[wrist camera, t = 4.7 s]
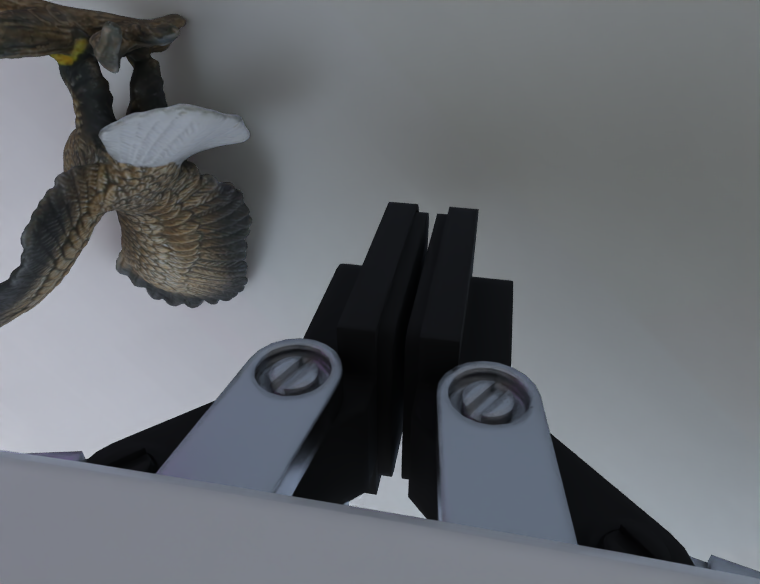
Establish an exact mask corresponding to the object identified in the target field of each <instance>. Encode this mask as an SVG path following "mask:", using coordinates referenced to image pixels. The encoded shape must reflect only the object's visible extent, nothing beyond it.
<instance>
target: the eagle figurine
mask: <svg viewBox="0 0 760 584" xmlns="http://www.w3.org/2000/svg"><path fill="white" fill-rule="evenodd" d="M185 23H186V20H185V18H183V17H182V16H180V15H178V14H170V15H167V16H164V17H160V18H157V19H153V20H142V19H135V18H130V17H125V16H120V15H115V14H111V13H106V12H101V11H93V10H86V9H79V8H73V7H67V6H62V5H58V4H54V3H51V2H48V1H44V0H0V59H3V58H10V59H14V58H22V57H40V56H46V55H50V56H51V57H52V58H54V59H55V60H56V61H57V62H58V65H59V70H60V75H61V77H62V79H63V81H64V83H65V85H66V86H67V88H68V89H69V91H70V93H71V96H72V99H73V106H74V112H75V114H76V119H75V124H76V129H75V130H74V131H73V132H72V133H71V134H70V136H69V138H68V140H67V142H66V145H65V148H64V152H63V160H64V172H62V173H61V174H59V175H58V176H57V177H56V178H55V181H54V182H55V186H54V187H53V188H51V189H49V190H48V191H47V192H46V194H45V196H44V197H43V199H42V200H41V201H40V202H39V204H38V207H37V209H36V210H35V211H34V212H33V214H32V216H31V220H30V222H29V224H28V225H27V226H26V227H25V229H24V231H23V233H22V236H21V244H22V246H23V248H24V250H23V253H22V254H21V265H20V266H19V267H17V268H16V269H15V270H13V272H12V273H11V275H10V278H9V279H8V280H6V281H4V282H2V283H0V327H2V326H3V325H5V324H7V323H9V322H10V321H12V320H14V319H15V318H16V317H18V316H20V315H21V314H23V313H25V312H27V311H29V310H30V309H32V308H33V307H35V306H36V305H37V304H39V303H40V302H41V301H42V300H43V299H44V298H45V297H46V296H47V295H48V294H49V293H50V292H52V290H53V289H54V288H55V287H56V286H57V285H59V284H60V283H61V281H62V280H63V278H64V277H65V275H67V274H68V273H69V271H70V269H71V267H72V266H73V264H74V263H75V261H76V259H77V257H78V256H79V255H80V253H81V251H82V249H83V248H84V247H85V246H86V245H87V243H88V241H89V239H90V236H91V234H92V232H93V229H94V227H95V226H96V224H97V223H98V222H99V221H100V219H101V217H102V216H103V215H104V214H105V213H106V212H108V211H114V210H116V211H117V215H118V219H119V223H120V226H121V233H122V237H121V246H122V250H121V252H120V253H119V257H118V259H117V260H116V270H117V271H118V272H119V273H120V274H123V275H127V276H128V277H129V278H130V280H131V282H132V283H133V284H134V286H137V287H144V288H146V289H147V292H148V294H149V295H150V296H151V298H153V299H156V300H160V299H164V300H165V301H166V303H168V304H169V305H171V306H178V305H180V304H183V303H184V304H186V305H187V306H188V307H190V308H195V307H198V306H199V305H201V304H202V302H203V300H205V301H206V302H208V303H210V304H217V303H218V301H219V300H222V301H229V300H231V299H232V298H234V297H235V296H237V294H238V292H242V291H243V290H244V285H245V284H246V283H247V281H248V278H246V277H245V275H246V269H247V267H248V266H247V264H246V262H245V261H243V260H244V259H245V258H246V252H245V251H246V249H247V243H246V241H245V240H244V239H245V238H246V237H247V236H248V235H249V233H250V230H249V227H250V225H251V223H252V218H251V217H250V215H249V213H250V212H249V209H248V207H247V205H246V204H245V203H244V196H243V193H242V192H241V190H239V189H235V187H234V185H233V184H232V183H230V182H225V183H219V182H218V181H217V179H216V178H215V177H214V176H213V175H209V174H204V175H200V173H199V169H198V168H197V166H196V165H195V164H194V163H192V162H190V161H187V160H186V159H187V158H188V157H190V156H191V155H193V154H196V153H198V152H201V151H204V150H207V149H211V148H214V147H218V146H223V145H229V144H236V143H241V142H244V141H246V140H247V139H249V137H250V131H249V130H248V129H247V127H246V126H245V125H244V122H243V119H242V117H241V116H239V115H236V114H225V113H221V112H219V111H216V110H212V109H206V108H203V107H199V106H195V105H190V104H183V103H182V104H176V105H172V106H169V107H168V106H167V102H166V99H165V93H164V91H163V82H164V81H163V79H162V77H161V72H160V65H159V62H158V61H157V60H155V59H153V58H152V57H151V55H150V54H151V53H153V52H162V51H165V50H166V49H167V48H168V47H169V46H170V44H171V43H172V41H174V40H175V39H176V38H177V37H178V36H179V34H180V30H179V29H180V28H181V27H183V26H184V25H185ZM125 56H126V57H127V59H128V61H129V62H130V63H131V65H132V66H133V68H134V70H133V73H132V77H131V81H130V103H129V106H128V109H127V113H126V116H125V117H123V118H121V119H119V120H116V118H115V116H114V113H113V108H112V103H113V96H112V94H111V92H110V91H109V82H108V81H107V80H106V79H105V78H104V77H103V75H102V73H101V70H100V66H99V63H98V61H99V62H100V63H101V64H102V66H103V67H104V68H106V69H107V70H109V71H110V72H112V73H118V71H119V68H120V59H121V58H122V57H125Z"/></svg>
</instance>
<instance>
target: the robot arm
mask: <svg viewBox="0 0 760 584" xmlns="http://www.w3.org/2000/svg"><path fill="white" fill-rule="evenodd" d="M478 210H479V209H469V208H457V207H449V211H448V214H437V216H436V220H435V224H434V228H433V232H432V235H431V239H430V243H429V247H428V228H429V213H425V212H419V206H418V204H409V203H397V202H389V203H388V205H387V208H386V210H385V212H384V215H383V217H382V220H381V222H380V224H379V227H378V229H377V232H376V234H375V236H374V239H373V241H372V243H371V246H370V248H369V251H368V253H367V255H366V258H365V260H364V263H363V265H362V266H361V265H351V264H340V265H339V266H338V268H337V269H336V271H335V273H334V276H333V278H332V280H331V282H330V284H329V286H328V288H327V290H326V292H325V294H324V296H323V298H322V300H321V303H320V305H319V307H318V309H317V311H316V313H315V315H314V317H313V319H312V321H311V323H310V325H309V328H308V330H307V332H306V334H305V336H304V338H303V339H302V338H297V339H285V340H282V341H278V342H275V343H271V344H269V345H268V346H266V347H264V348H262V349H260V350H259V351H257V352H256V353H255V354H254V355H253V356H252V357H251V358H250V359H249V360H248V361H247V362H246V364H245V365H244V366H243V367H242V369H241V370H240V371H239V372H238V373H237V375H236V376H235V377H234V378H233V380H232V381H231V382H230V383H229V384H228V386H227V387H226V388H225V389H224V391H223V392H222V393H221V394H220V395H219V397H218V398H217V399H216V400H215V401H213V402H211V403H208V404H206V405H203V406H201V407H199V408H196V409H194V410H191V411H189V412H187V413H184V414H182V415H179V416H177V417H175V418H172V419H170V420H167V421H165V422H163V423H160V424H158V425H155V426H153V427H151V428H148V429H146V430H143V431H141V432H139V433H136V434H134V435H131V436H129V437H127V438H124V439H122V440H119V441H117V442H115V443H112V444H110V445H108V446H107V447H105V448H103V449H101V450H99V451H97V452H96V453H95V454H93V455H92V456H91V457H90V458H89V459H85V457H84V454H83V452H82V451H75V452H49V453H17V452H10V451H3V450H0V584H760V572H759V571H756V570H753V569H750V568H748V567H745V566H742V565H739V564H736V563H733V562H731V561H728V560H725V559H722V558H719V557H716V556H714V555H711V556H710V558H709V560H708V562H704V561H701V560H699V559H696V558H693V557H690V556H689V555H688V553H687V551H686V550H685V548H684V547H683V546H682V545H681V544H680V543H679V542H678V541H677V540H676V539H675V538H674V537H673V536H672V535H671V534H670V533H669V532H668V531H667V530H666V529H665V528H663V527H662V526H661V525H660V524H659V523H657V522H656V521H655V520H654V519H653V518H651V517H650V516H649V515H648V514H647V513H645V512H644V511H643V510H642V509H641V508H639V507H638V506H637V505H636V504H635V503H633V502H632V501H631V500H630V499H629V498H627V497H626V496H625V495H624V494H623V493H621V492H620V491H619V490H618V489H617V488H615V487H614V486H613V485H612V484H611V483H609V482H608V481H607V480H606V479H605V478H603V477H602V476H601V475H600V474H599V473H597V472H596V471H595V470H594V469H593V468H591V467H590V466H589V465H588V464H587V463H585V462H584V461H583V460H582V459H581V458H579V457H578V456H577V455H576V454H575V453H573V452H572V451H571V450H570V449H569V448H567V447H566V446H565V445H564V444H563V443H561V442H560V441H559V440H558V439H557V438H555V437H554V436H553V435H552V434H551V433H550V431H549V427H548V423H547V419H546V415H545V411H544V407H543V403H542V399H541V395H540V393H539V391H538V389H537V387H536V385H535V384H534V383H533V382H532V381H531V380H530V379H529V378H528V377H527V376H526V375H525V374H523V373H521V372H520V371H518V370H516V369H515V368H513V367H511V352H512V315H513V281H509V280H499V279H489V278H479V277H472V273H473V262H474V252H475V242H476V232H477V222H478ZM427 249H428V251H427ZM402 432H403V436H402ZM401 436H402V479H409V490H408V497H409V498H410V500H411V501H412V502H413V503H414V504H415V505H416V507H417V508H418V509H419V510H420V511H421V513H422V514H423V515H424V516H425V517H426V518H427V519H424V518H418V517H412V516H406V515H401V514H395V513H389V512H383V511H377V510H371V509H365V508H359V507H353V506H349V501H350V500H352V499H354V498H356V497H358V496H359V495H361V494H363V493H369V494H375V495H377V491H378V487H379V482H380V478H381V475H383V476H390V477H392V475H393V472H394V468H395V463H396V459H397V454H398V450H399V445H400V441H401Z"/></svg>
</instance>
